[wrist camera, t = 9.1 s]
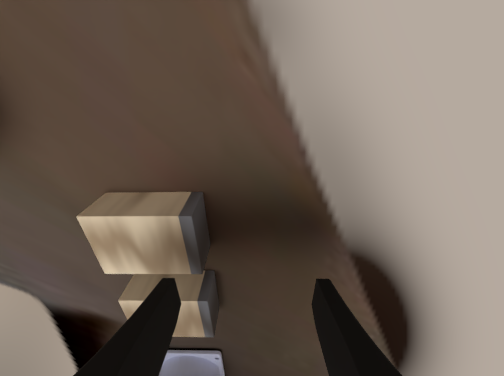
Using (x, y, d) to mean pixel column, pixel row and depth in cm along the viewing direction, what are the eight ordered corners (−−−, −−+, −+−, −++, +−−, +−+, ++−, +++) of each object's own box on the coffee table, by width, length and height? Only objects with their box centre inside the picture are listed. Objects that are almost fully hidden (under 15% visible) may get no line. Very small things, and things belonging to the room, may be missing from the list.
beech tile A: (214, 337, 19) (135, 336, 19) (219, 304, 21) (150, 304, 22) (207, 301, 16) (118, 300, 17) (214, 269, 19) (137, 269, 19)
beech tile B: (202, 274, 15) (104, 273, 15) (210, 244, 18) (127, 244, 18) (191, 216, 13) (76, 216, 13) (202, 191, 15) (107, 191, 16)
